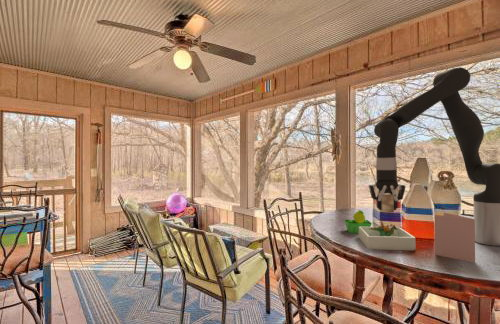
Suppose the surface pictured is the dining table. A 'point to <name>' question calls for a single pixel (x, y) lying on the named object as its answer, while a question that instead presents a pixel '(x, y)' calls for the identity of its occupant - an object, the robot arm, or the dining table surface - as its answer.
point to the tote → (387, 239)
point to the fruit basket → (357, 222)
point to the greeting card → (455, 237)
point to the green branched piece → (385, 230)
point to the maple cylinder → (387, 203)
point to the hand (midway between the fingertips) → (387, 209)
